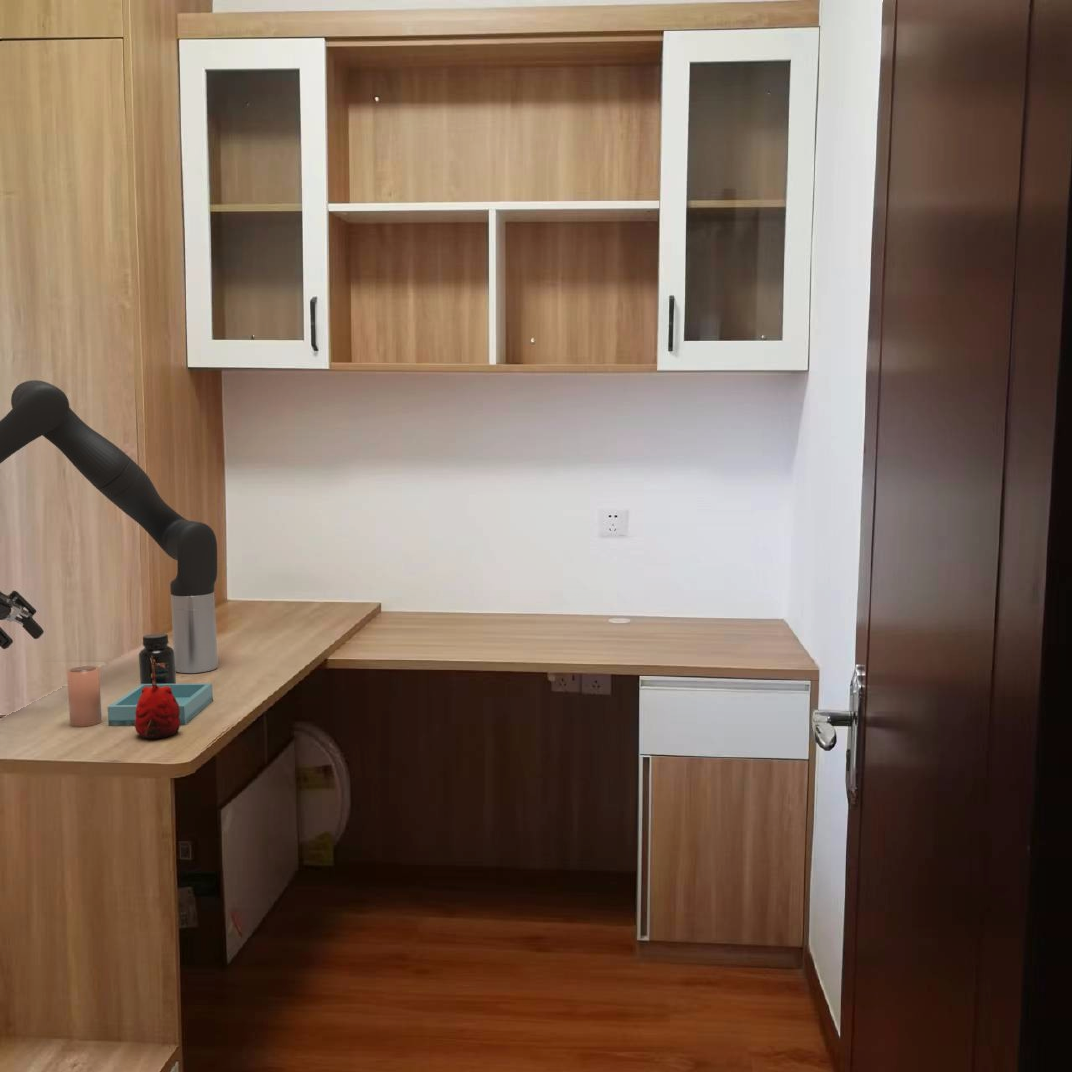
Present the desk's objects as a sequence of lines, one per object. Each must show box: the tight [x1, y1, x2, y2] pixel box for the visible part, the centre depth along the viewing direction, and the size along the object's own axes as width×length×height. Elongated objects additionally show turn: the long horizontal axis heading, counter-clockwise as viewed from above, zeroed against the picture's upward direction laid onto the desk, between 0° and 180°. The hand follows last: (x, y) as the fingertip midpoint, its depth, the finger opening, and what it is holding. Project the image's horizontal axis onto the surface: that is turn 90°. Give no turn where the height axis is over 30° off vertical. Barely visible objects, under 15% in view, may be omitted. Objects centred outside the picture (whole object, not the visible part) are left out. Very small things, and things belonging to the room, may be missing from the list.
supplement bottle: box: [138, 633, 177, 685], centre depth 206 cm, size 7×7×12 cm
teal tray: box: [107, 682, 214, 726], centre depth 192 cm, size 16×14×4 cm
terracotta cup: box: [66, 665, 103, 728], centre depth 186 cm, size 5×5×10 cm
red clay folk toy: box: [134, 656, 181, 740], centre depth 178 cm, size 8×7×15 cm
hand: (24, 640), depth 187 cm, fingers open, 8 cm apart
